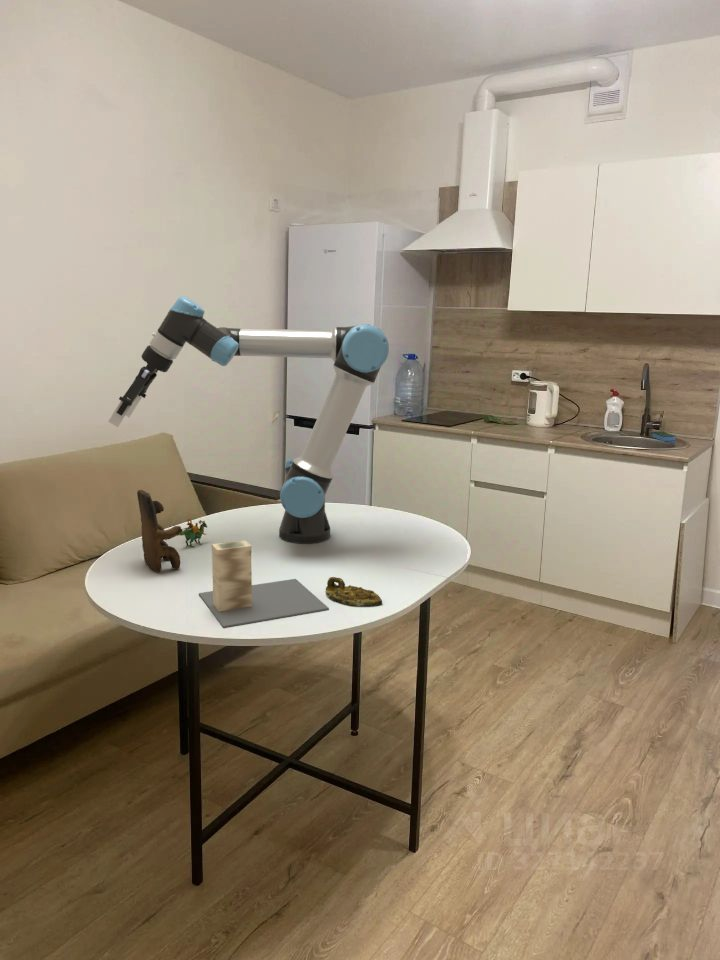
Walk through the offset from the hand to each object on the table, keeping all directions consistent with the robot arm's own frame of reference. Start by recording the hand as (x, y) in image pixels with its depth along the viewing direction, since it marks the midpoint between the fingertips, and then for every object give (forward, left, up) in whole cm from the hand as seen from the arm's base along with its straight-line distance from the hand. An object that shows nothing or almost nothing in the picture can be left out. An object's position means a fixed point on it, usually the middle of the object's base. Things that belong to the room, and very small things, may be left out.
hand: (119, 419), depth 192 cm
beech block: (-15, +51, -35) cm, 64 cm away
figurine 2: (-17, +5, -36) cm, 40 cm away
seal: (-42, +57, -36) cm, 80 cm away
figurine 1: (-6, +18, -36) cm, 41 cm away
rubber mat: (-22, +51, -36) cm, 66 cm away
